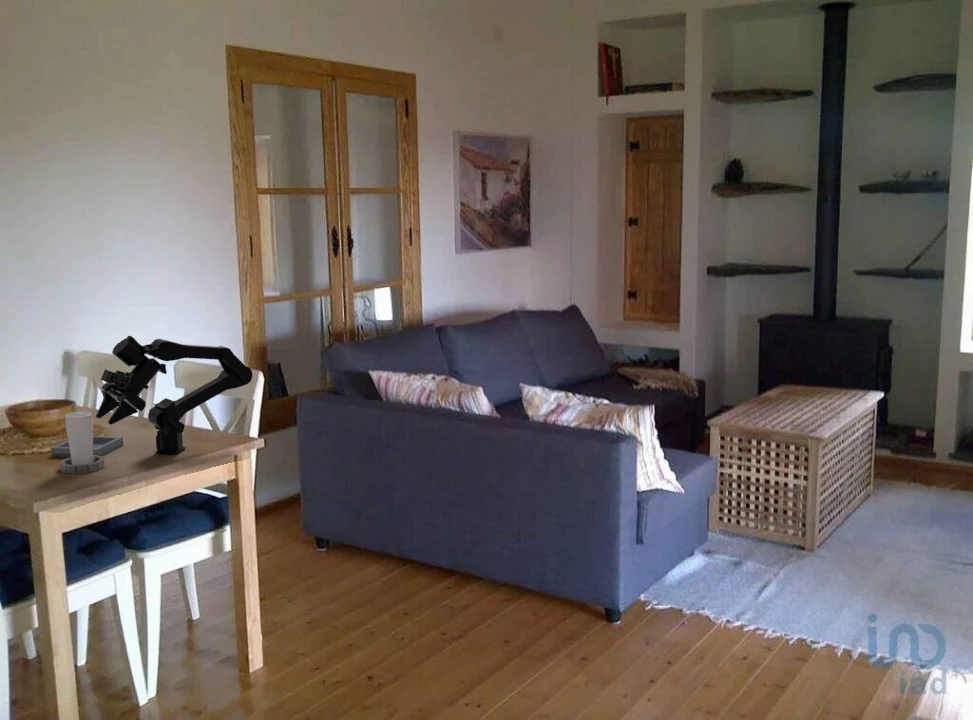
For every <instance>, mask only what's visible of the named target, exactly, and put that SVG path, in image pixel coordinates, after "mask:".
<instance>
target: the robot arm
mask: <svg viewBox="0 0 973 720" xmlns="http://www.w3.org/2000/svg"><path fill="white" fill-rule="evenodd" d="M111 352H112V355H114V356H115V357H116V358H117V359H118V360H120V361H121V362H122V363H123V364H125V365H126V366H127V367H131V366H133V368H132V369H131V371H130V372H129V371H125V372H123V371H122V370H119V369H118V370H116V371H115V372H114V371H112V370H108V369H104V371H103V373H102V376H101V378H100V381H103V382H105V383H104V384H103V385H102V386H101V389H102V390H101V393H102V401H101V403H100V406H99V408H98V411H97V413H96V415H95V417H96V418H97V419H101V418H102V417H104V416H106V415H107V414H109V413H110V412H112V411H113V410H114V411H113V413H112V414H111V416H110V418H109V419H108V422H107V423H108V424H109V425H114V424H115V423H118V422H120V421H122V420H123V419H126V418H128V417H130V416H132V415H134V414H138V413H139V412H143V410H145V409H146V407H147V403H146V401H145V400H144V399H143V398H142V397H140V396H139V395H140V394H141V393H142V391H144V390H148V389H149V387H150V386H149V385H148V384H149V383H150V382H151V381H153V379H154V377H155V376H156V375H157V374H158V373H161V374H164V375H167V373H168V372H167V365H166V364H165V363H160V362H159V361H164V362H171V361H179V360H184V359H195V360H196V359H200V360H201V359H202V360H217V361H218V362H219V364H220V367H221V368H222V369H223V370H222V371H221V372H220V374H219V375H218V376H217V377H216V378H214V379H212V380H211V381H209V382H207V383H205V384H203V385H202V386H200V387H198V388H196V389H194V390H192V391H191V392H189V393H187V394H184V396H182V397H180V398H178V399H175V400H171V399H170V398H163V399H162V400H161V401H159V402H158V403H154V404H153V407H151V408H149V410H148V411H149V412H148V414H147V417H148V421H149V423H151V424H152V425H153V426H154V428H155V430H157V431H156V436H155V445H156V446H155V449H156V450H155V454H158V455H159V454H161V455H177V454H179V453H181V452H183V451H184V450H186V449H185V448H186V446H184V443H183V433H184V429H185V426H186V424H184V423H183V422H182V418H183V417H184V416H185V414H187V413H188V412H190V411H192V410H194V409H196V408H197V407H199V406H201V405H203V404H204V403H206V402H208V401H210V400H211V399H212V398H215V397H217V396H218V395H220V394H222V393H224V392H225V391H228V390H233V389H237V388H238V389H239V388H242V387H244V386H246V385H248V384H250V383H251V382H252V379H253V371H252V369H251V368H250V367H249V366H246V365H245V364H244V363H243V361H242V360H240V359H239V358H238V356H236V354H234V352H233V351H232V350H231V348H229V347H226V346H223V345H219V346H214V345H213V346H212V345H199V344H198V345H197V344H195V345H194V344H182V343H178V342H175V341H172V340H171V341H170V340H167V339H163V338H156V339H154V340H153V341H152V342H151V343H149V344H145V345H142V344H141V343H140V342H138V341H137V339H135V338H134V337H133V336H131V335H128V336H127V337H125V338H123V339H122V340H121V341H119V342H118V343H116V345H114V346H113V349H112V351H111ZM146 355H147V356H146ZM148 356H151V358H149V357H148ZM156 359H157V360H156ZM158 360H159V361H158ZM183 449H184V450H183ZM182 450H183V451H182ZM180 451H181V452H180ZM178 452H179V453H178Z"/></svg>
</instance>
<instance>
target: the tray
mask: <svg viewBox="0 0 973 720" xmlns="http://www.w3.org/2000/svg"><path fill="white" fill-rule="evenodd" d="M123 446H124V437H122V436H102V435H101V436H100V435H93V455H99V456H102V457H104V456H105V455H108V454H109V453H111V452H113V451H115V450H117V449H119V448H121V447H123ZM50 451H51V457H59V458H60V457H63V458H64V457H65V458H70V457H71V454H70V448H69V442H68V439H67V440H66V441H64V442H63V441H62V442H61V443H59V444H56V445H54V446H51V448H50Z"/></svg>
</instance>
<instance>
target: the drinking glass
mask: <svg viewBox="0 0 973 720" xmlns="http://www.w3.org/2000/svg"><path fill="white" fill-rule="evenodd" d="M65 430H66V437H67V440H68V442H69V448H70V454H71V460H72V465H84V464H90V463H93V436H94V418H93V413H92V412H90V411H76V412H70V413H67V414H66V415H65Z"/></svg>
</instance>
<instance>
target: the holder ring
mask: <svg viewBox="0 0 973 720" xmlns="http://www.w3.org/2000/svg"><path fill="white" fill-rule="evenodd" d="M59 466H60V467H59V468H60V472H63V473H64V474H75V475H76V474H77V473H78V474H86V473H85V472H88V473H92V472H91V471H93V472H96V471H95V470H97V471H100V470H101V468H102V469H103V468H105V457H104V456H99V455H93V463H90V464H84V465H72V460H71V457H65V459H62V460H61V461H60V462H59ZM99 469H100V470H99Z"/></svg>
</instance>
